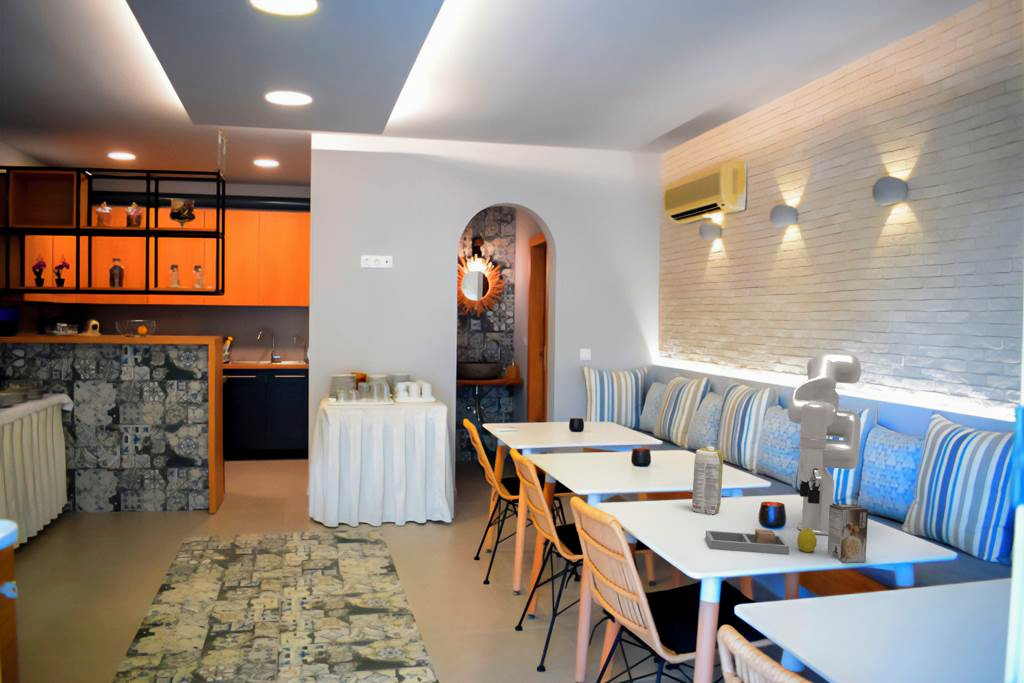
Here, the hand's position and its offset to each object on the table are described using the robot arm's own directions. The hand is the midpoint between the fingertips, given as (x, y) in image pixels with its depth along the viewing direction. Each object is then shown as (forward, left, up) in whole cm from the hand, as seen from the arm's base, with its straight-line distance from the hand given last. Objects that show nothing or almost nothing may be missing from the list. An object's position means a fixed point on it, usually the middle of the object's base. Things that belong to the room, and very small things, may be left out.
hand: (809, 499), depth 248 cm
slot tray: (0, -18, -17) cm, 24 cm away
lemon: (0, 0, -17) cm, 17 cm away
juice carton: (-47, -24, -17) cm, 56 cm away
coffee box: (+2, +11, -17) cm, 20 cm away
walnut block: (0, -12, -16) cm, 20 cm away
